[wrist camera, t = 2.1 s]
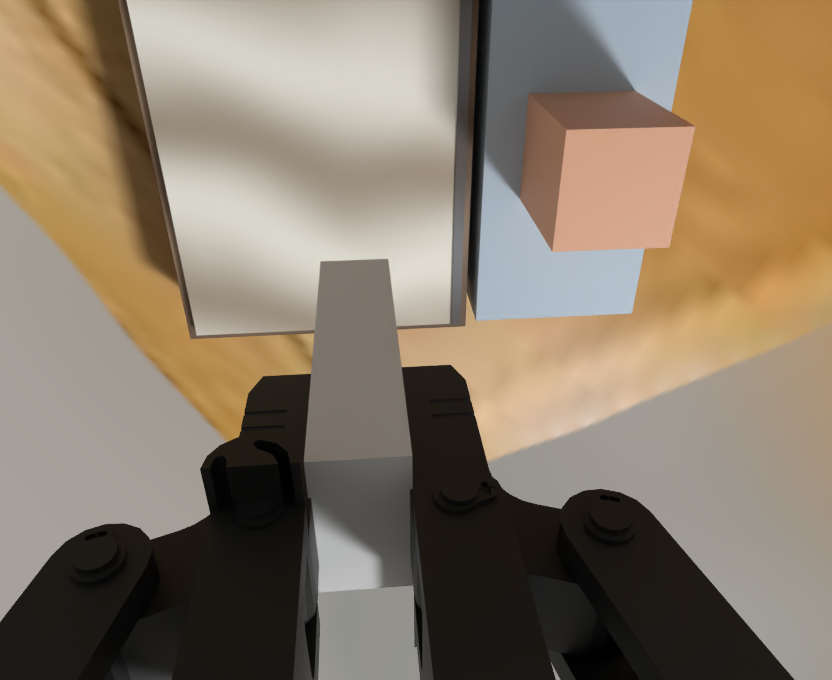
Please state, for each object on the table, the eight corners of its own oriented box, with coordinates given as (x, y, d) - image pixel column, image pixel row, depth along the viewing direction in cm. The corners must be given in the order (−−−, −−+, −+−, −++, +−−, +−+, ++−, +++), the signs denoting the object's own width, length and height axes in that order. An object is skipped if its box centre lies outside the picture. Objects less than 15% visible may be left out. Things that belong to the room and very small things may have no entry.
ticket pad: (124, -102, 23) (90, -105, 20) (468, -103, 24) (486, -106, 21) (204, 303, 32) (188, 345, 29) (455, 292, 32) (466, 331, 29)
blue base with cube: (479, -86, 24) (533, -88, 17) (667, -87, 25) (797, -89, 17) (464, 284, 32) (497, 388, 25) (606, 278, 33) (678, 378, 25)
